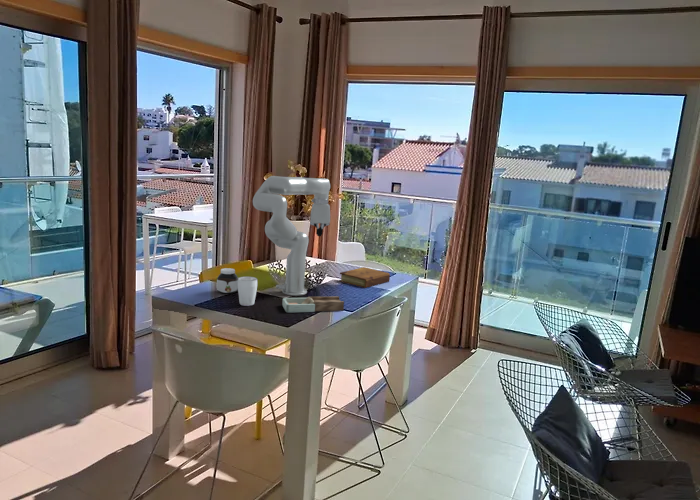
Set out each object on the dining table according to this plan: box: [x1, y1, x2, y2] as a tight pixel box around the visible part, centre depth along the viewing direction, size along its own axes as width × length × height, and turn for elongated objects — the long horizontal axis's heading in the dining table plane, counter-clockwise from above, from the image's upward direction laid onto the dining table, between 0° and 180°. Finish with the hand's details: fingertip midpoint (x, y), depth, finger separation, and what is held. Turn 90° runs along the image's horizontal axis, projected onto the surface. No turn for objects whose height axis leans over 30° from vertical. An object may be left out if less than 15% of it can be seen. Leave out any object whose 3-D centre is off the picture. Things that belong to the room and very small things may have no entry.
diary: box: [339, 266, 391, 289], centre depth 307 cm, size 23×19×6 cm
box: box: [281, 297, 316, 313], centre depth 247 cm, size 13×11×4 cm
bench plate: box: [309, 295, 345, 312], centre depth 251 cm, size 14×9×4 cm, turn 107°
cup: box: [237, 276, 258, 307], centre depth 248 cm, size 9×9×12 cm
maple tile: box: [302, 296, 314, 304], centre depth 248 cm, size 5×5×2 cm
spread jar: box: [216, 267, 239, 295], centre depth 266 cm, size 12×11×12 cm
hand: (319, 235), depth 287 cm, fingers closed
